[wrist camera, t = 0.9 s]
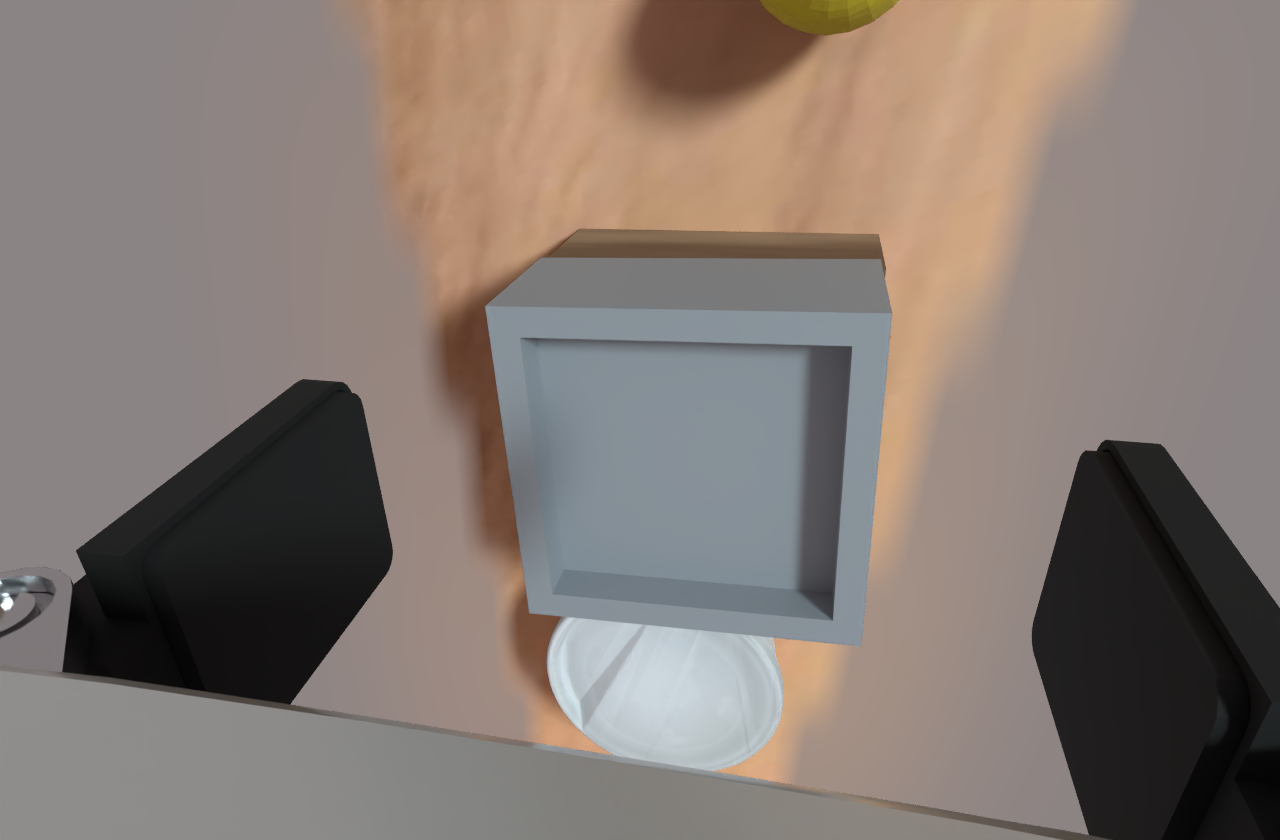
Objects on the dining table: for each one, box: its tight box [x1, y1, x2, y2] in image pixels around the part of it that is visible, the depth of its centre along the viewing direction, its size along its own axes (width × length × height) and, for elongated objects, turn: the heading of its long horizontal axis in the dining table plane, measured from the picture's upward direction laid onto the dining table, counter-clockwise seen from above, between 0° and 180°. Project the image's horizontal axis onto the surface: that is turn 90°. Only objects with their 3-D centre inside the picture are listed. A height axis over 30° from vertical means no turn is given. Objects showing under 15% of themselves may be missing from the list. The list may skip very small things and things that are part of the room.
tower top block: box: [485, 258, 892, 646], centre depth 29 cm, size 12×12×6 cm
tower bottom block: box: [548, 229, 886, 277], centre depth 33 cm, size 12×12×5 cm
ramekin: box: [546, 617, 784, 771], centre depth 40 cm, size 11×11×5 cm
